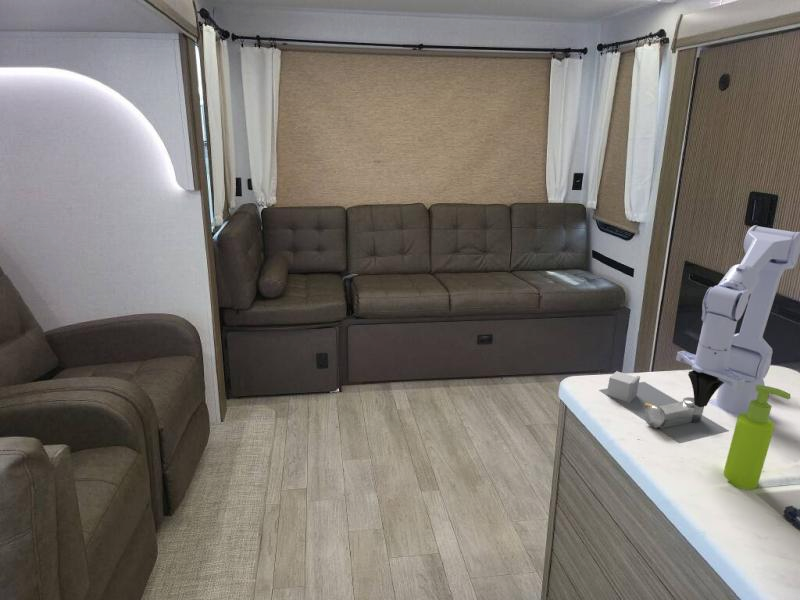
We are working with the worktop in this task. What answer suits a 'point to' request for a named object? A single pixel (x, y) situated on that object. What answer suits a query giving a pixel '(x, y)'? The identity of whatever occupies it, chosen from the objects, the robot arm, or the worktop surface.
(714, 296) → the robot arm
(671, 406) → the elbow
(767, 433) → the soap dispenser
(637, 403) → the duct board
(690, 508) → the worktop surface
